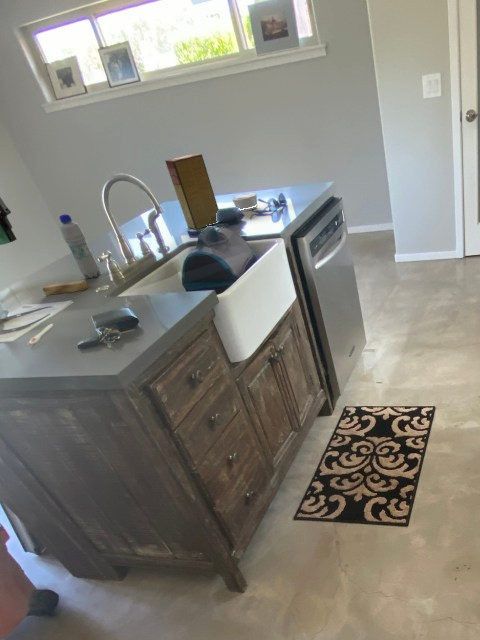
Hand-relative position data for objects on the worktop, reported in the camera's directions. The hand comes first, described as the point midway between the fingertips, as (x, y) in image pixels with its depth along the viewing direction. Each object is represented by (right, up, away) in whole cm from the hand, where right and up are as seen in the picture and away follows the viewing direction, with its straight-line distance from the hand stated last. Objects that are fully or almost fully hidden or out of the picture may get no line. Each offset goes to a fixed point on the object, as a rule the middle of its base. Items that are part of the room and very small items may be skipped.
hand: (0, 242), depth 167 cm
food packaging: (+46, +39, +60) cm, 85 cm away
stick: (+16, -12, +10) cm, 22 cm away
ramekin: (+61, +54, +74) cm, 110 cm away
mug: (+1, -1, 0) cm, 1 cm away
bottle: (+19, -2, +20) cm, 28 cm away
